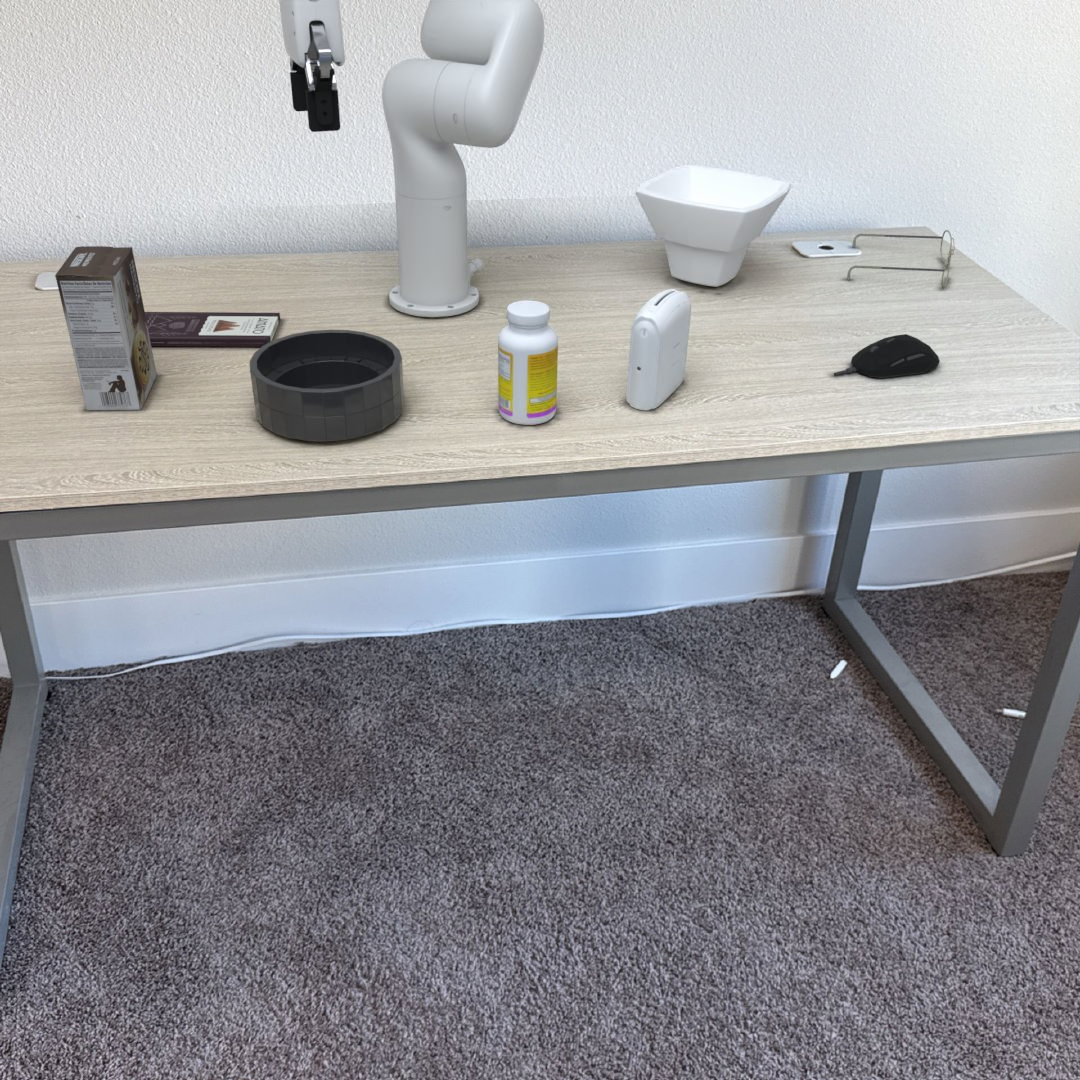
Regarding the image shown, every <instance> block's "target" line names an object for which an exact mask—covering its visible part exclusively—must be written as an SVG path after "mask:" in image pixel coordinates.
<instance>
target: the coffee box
mask: <svg viewBox="0 0 1080 1080" xmlns="http://www.w3.org/2000/svg"><path fill="white" fill-rule="evenodd" d="M137 271H138V270H137V266H136V262H135V256H134V251H133V247H132V246H127V247H123V246H121V247H113V246H106V245H105V246H104V245H103V246H102V245H101V246H100V245H94V246H93V245H92V246H91V245H90V246H88V245H87V246H85V245H84V246H83V245H82V246H75V247H74V249H73V250H72V252H70V254H69V256H68V257H67V258H66V260H65V261H64V262H63V264H62V265H61V267H60V268H59V269H58V270H57V272H56V273H55V275H54V277H55V281H56V285H57V289H58V294H59V298H60V302H61V307H62V311H63V315H64V319H65V324H66V327H67V331H68V332H67V333H68V335H69V336H68V337H69V340H70V341H69V342H70V344H71V345H70V346H71V350H72V353H73V358H74V361H75V366H76V370H77V375H78V376H77V377H78V380H79V384H80V389H81V393H82V397H83V401H84V407H85V410H86V411H139V410H142V409H143V407H144V405H145V402H146V400H147V398H148V396H149V394H150V392H151V389H152V387H153V385H154V383H155V381H156V378H157V376H158V372H157V368H156V364H155V363H156V362H155V358H154V353H153V348H152V346H151V342H150V337H149V332H148V327H147V322H146V316H145V312H146V311H145V306H144V301H143V297H142V291H141V287H140V282H139V276H138V272H137Z"/></svg>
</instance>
